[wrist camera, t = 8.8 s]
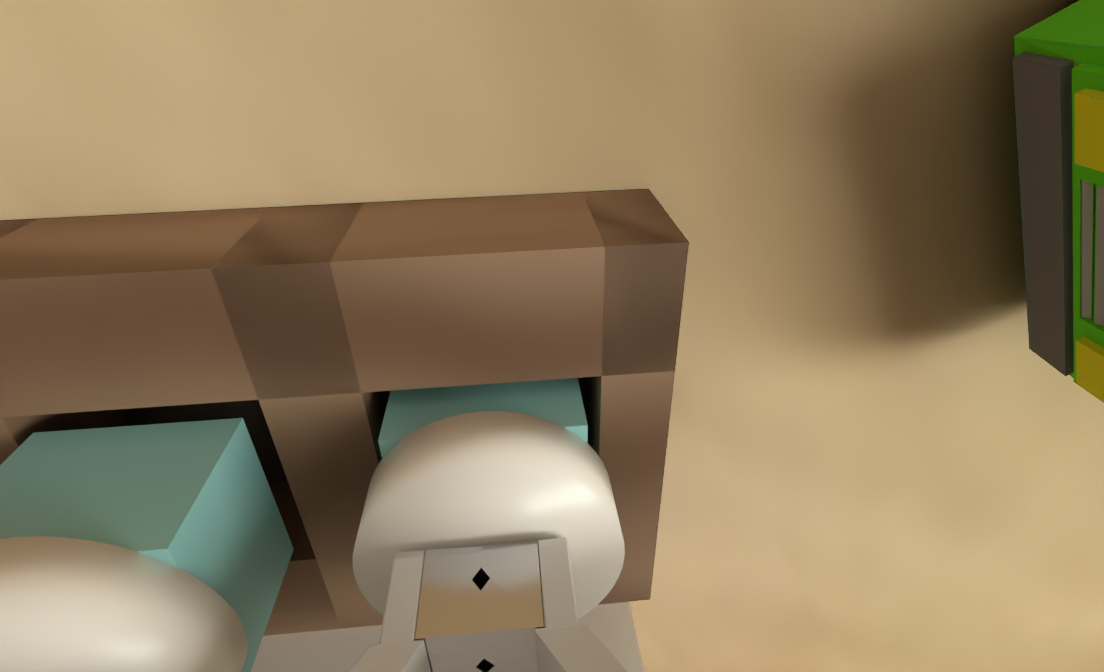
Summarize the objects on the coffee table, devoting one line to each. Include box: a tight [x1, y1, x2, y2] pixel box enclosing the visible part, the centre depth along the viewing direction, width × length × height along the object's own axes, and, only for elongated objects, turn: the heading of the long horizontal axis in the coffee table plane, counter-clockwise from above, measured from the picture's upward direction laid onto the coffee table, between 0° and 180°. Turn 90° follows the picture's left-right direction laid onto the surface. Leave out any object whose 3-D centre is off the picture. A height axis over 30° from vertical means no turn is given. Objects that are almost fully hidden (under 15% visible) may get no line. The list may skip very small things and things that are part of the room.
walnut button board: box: [0, 189, 689, 635], centre depth 13 cm, size 10×27×3 cm, turn 91°
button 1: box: [353, 378, 625, 619], centre depth 12 cm, size 5×5×4 cm
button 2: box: [0, 418, 294, 672], centre depth 10 cm, size 5×5×4 cm
